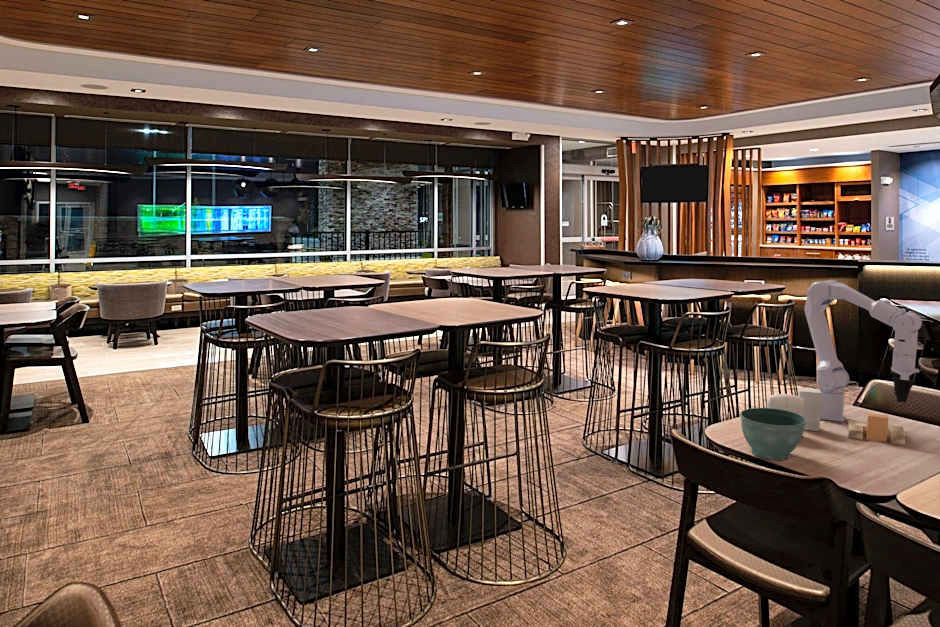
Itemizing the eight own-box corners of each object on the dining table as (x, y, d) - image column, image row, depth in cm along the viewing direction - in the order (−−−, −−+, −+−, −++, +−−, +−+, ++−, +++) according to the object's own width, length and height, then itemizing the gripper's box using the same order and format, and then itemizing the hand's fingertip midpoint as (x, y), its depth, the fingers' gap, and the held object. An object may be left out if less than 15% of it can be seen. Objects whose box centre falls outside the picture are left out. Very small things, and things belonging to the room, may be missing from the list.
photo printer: (801, 434, 205) (804, 393, 204) (803, 438, 201) (806, 397, 200) (763, 431, 208) (766, 391, 207) (765, 435, 204) (767, 394, 203)
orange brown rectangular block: (866, 439, 201) (868, 415, 200) (865, 436, 204) (867, 413, 203) (886, 441, 199) (888, 418, 198) (885, 438, 201) (887, 415, 200)
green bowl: (803, 469, 178) (806, 428, 176) (736, 459, 184) (738, 420, 183) (802, 449, 192) (805, 411, 191) (740, 441, 199) (742, 405, 197)
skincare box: (817, 427, 212) (820, 389, 210) (819, 431, 208) (822, 392, 206) (795, 425, 214) (798, 387, 212) (797, 429, 210) (799, 391, 208)
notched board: (848, 438, 202) (849, 429, 201) (848, 427, 211) (848, 419, 211) (904, 445, 195) (905, 436, 195) (901, 434, 205) (902, 426, 205)
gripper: (923, 359, 195) (919, 406, 197) (918, 350, 208) (914, 394, 210) (894, 357, 198) (890, 403, 200) (890, 348, 211) (887, 392, 213)
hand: (900, 398), depth 205 cm, fingers open, 7 cm apart
